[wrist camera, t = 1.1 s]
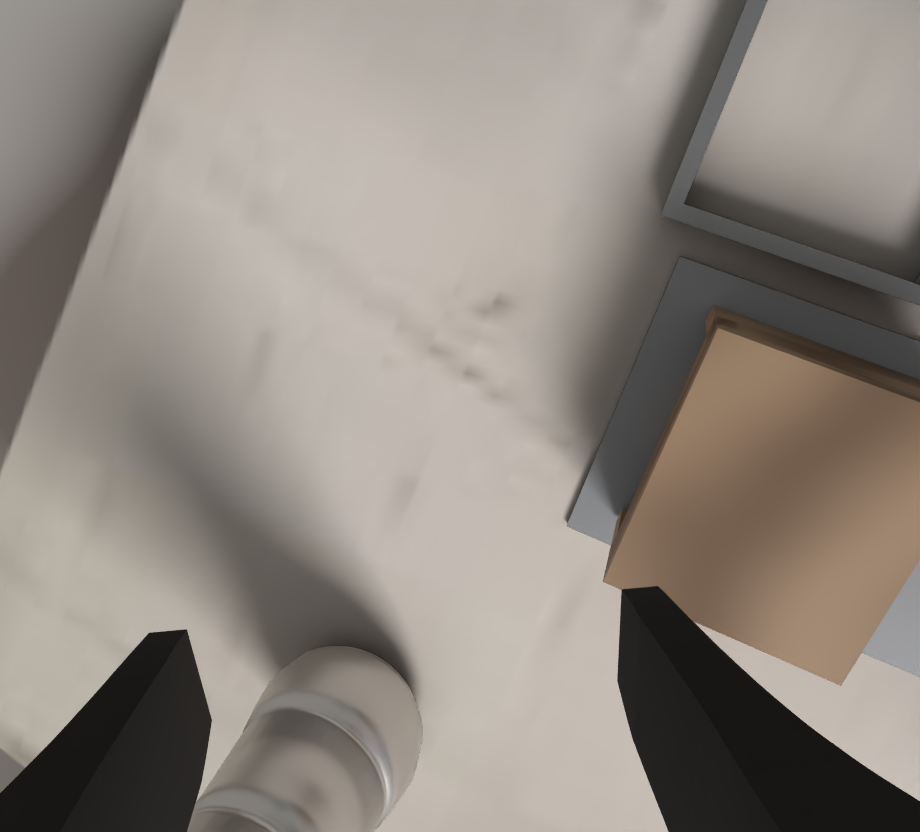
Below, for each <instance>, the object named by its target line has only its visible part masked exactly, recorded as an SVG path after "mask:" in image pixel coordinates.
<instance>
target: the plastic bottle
mask: <svg viewBox="0 0 920 832" xmlns="http://www.w3.org/2000/svg"><path fill="white" fill-rule="evenodd" d="M422 735H423V727H422V721H421V715H420V713H419V710H418V707H417V704H416V701H415V699H414V696H413V694H412V692H411V690H410V688H409V687H408V685H407V683H406V682H405V680H404V679H403V678H402V677H401V675H400V674H399V673H398V672H397V671H396V670H395V669H394V668H393V667H392V666H391V665H389V664H388V663H387V662H385V661H384V660H382V659H381V658H379V657H378V656H376V655H374V654H372V653H370V652H368V651H365V650H362V649H358V648H355V647H346V646H328V647H319V648H316V649H313V650H310V651H307V652H306V653H304V654H302V655H301V656H299V657H298V658H296V659H295V660H294V661H293V662H291V663H290V664H289V665H287V666H286V667H285V668H283V669H282V670H281V671H280V672H278V673H277V674H276V675H275V677H274V678H273V679H272V680H271V681H270V682H269V684H268V685H267V687H266V689H265V690H264V692H263V694H262V696H261V697H260V699H259V701H258V702H257V704H256V706H255V708H254V710H253V712H252V714H251V716H250V718H249V720H248V722H247V724H246V726H245V728H244V731H243V733H242V735H241V737H240V738H239V740H238V741H237V743H236V744H235V746H234V747H233V749H232V750H231V752H230V753H229V755H228V756H227V758H226V759H225V761H224V762H223V764H222V765H221V767H220V768H219V770H218V771H217V773H216V774H215V776H214V777H213V779H212V780H211V782H210V783H209V785H208V786H207V788H206V789H205V791H204V792H203V794H202V795H201V797H200V798H199V799H198V800H197V801H196V803H195V806H194V810H193V813H192V817H191V820H190V824H189V827H188V830H187V832H374V831H375V830H376V829H377V828H378V827H379V826H380V825H381V824H382V822H383V821H384V820H385V819H386V818H387V817H388V815H389V814H390V813H391V811H392V810H393V808H394V807H395V805H396V804H397V802H398V801H399V799H400V798H401V796H402V795H403V794H404V792H405V791H406V789H407V787H408V786H409V784H410V783H411V781H412V779H413V776H414V773H415V770H416V767H417V762H418V758H419V753H420V749H421V744H422Z"/></svg>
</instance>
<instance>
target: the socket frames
mask: <svg viewBox="0 0 920 832" xmlns="http://www.w3.org/2000/svg"><path fill="white" fill-rule="evenodd" d="M766 3H767V0H747V2H746V4H745V7H744V9H743V12H742V14H741V17H740V19H739V22H738V24H737V26H736V29H735V31H734V34H733V36H732V39H731V41H730V44H729V46H728V49H727V51H726V54H725V56H724V59H723V61H722V64H721V66H720V69H719V71H718V74H717V76H716V79H715V81H714V84H713V86H712V89H711V91H710V93H709V96H708V98H707V101H706V103H705V106H704V108H703V111H702V113H701V116H700V118H699V121H698V123H697V126H696V128H695V131H694V133H693V136H692V138H691V141H690V143H689V146H688V148H687V151H686V153H685V156H684V158H683V161H682V163H681V165H680V168H679V170H678V173H677V175H676V178H675V180H674V183H673V185H672V188H671V190H670V193H669V195H668V198H667V200H666V203H665V205H664V208H663V210H662V213H661V215H662V216H664V217H667V218H670V219H673V220H676V221H679V222H682V223H685V224H687V225H690V226H693V227H696V228H699V229H702V230H705V231H708V232H710V233H713V234H716V235H719V236H722V237H725V238H728V239H731V240H733V241H736V242H739V243H742V244H745V245H748V246H751V247H753V248H756V249H759V250H762V251H765V252H768V253H771V254H774V255H776V256H779V257H782V258H785V259H788V260H791V261H794V262H797V263H799V264H802V265H805V266H808V267H811V268H814V269H817V270H820V271H822V272H825V273H828V274H831V275H834V276H837V277H840V278H843V279H845V280H848V281H851V282H854V283H857V284H860V285H863V286H866V287H868V288H871V289H874V290H877V291H880V292H883V293H886V294H888V295H891V296H894V297H897V298H900V299H903V300H906V301H909V302H911V303H914V304H917V305H920V274H919V276H918V278H917V279H916V281H915V283H914V282H911V281H908V280H905V279H902V278H899V277H896V276H893V275H890V274H887V273H885V272H882V271H879V270H876V269H873V268H870V267H867V266H864V265H861V264H858V263H855V262H853V261H850V260H847V259H844V258H841V257H838V256H835V255H832V254H829V253H826V252H823V251H821V250H818V249H815V248H812V247H809V246H806V245H803V244H800V243H797V242H794V241H791V240H789V239H786V238H783V237H780V236H777V235H774V234H771V233H768V232H765V231H762V230H759V229H757V228H754V227H751V226H748V225H745V224H742V223H739V222H736V221H733V220H730V219H727V218H725V217H722V216H719V215H716V214H713V213H710V212H707V211H704V210H701V209H698V208H695V207H693V206H690V205H687V204H684V202H685V200H686V197H687V195H688V192H689V190H690V188H691V185H692V183H693V180H694V178H695V175H696V173H697V171H698V168H699V166H700V163H701V161H702V158H703V156H704V153H705V151H706V149H707V146H708V144H709V141H710V139H711V136H712V134H713V132H714V129H715V127H716V124H717V122H718V119H719V117H720V115H721V112H722V110H723V107H724V105H725V102H726V100H727V98H728V95H729V93H730V90H731V88H732V85H733V83H734V81H735V78H736V76H737V73H738V71H739V68H740V66H741V64H742V61H743V59H744V56H745V54H746V51H747V49H748V47H749V44H750V42H751V39H752V37H753V34H754V32H755V30H756V27H757V25H758V22H759V20H760V17H761V15H762V13H763V10H764V8H765V5H766Z"/></svg>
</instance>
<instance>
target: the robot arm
mask: <svg viewBox="0 0 920 832" xmlns="http://www.w3.org/2000/svg"><path fill="white" fill-rule="evenodd" d="M617 681H618V685H619V689H620V693H621V697H622V701H623V705H624V708H625V712H626V716H627V720H628V723H629V727H630V731H631V735H632V738H633V741H634V744H635V746H636V749H637V752H638V754H639V757H640V759H641V762H642V765H643V767H644V770H645V772H646V775H647V778H648V780H649V783H650V785H651V788H652V790H653V793H654V795H655V798H656V801H657V803H658V806H659V808H660V811H661V813H662V816H663V818H664V821H665V823H666V826H667V829H668V831H669V832H920V801H918V800H917V799H915V798H914V797H912V796H910V795H909V794H907V793H906V792H904V791H903V790H901V789H899V788H898V787H896V786H895V785H893V784H891V783H890V782H888V781H887V780H885V779H883V778H882V777H880V776H879V775H877V774H876V773H874V772H873V771H871V770H870V769H868V768H867V767H865V766H864V765H862V764H861V763H859V762H858V761H856V760H855V759H853V758H852V757H851V756H849V755H848V754H847V753H845V752H844V751H842V750H841V749H840V748H838V747H837V746H836V745H834V744H833V743H831V742H830V741H829V740H827V739H826V738H824V737H823V736H822V735H820V734H819V733H818V732H816V731H815V730H814V729H812V728H811V727H810V726H808V725H807V724H806V723H805V722H803V721H802V720H801V719H800V718H798V717H797V716H796V715H795V714H794V713H792V712H791V711H790V710H789V709H788V708H786V707H785V706H784V705H783V704H782V703H780V702H779V701H778V700H777V699H776V698H774V697H773V696H772V695H771V694H770V693H769V692H767V691H766V690H765V689H764V688H763V687H762V686H761V685H759V684H758V683H757V682H756V681H755V680H754V679H753V678H752V677H751V676H749V675H748V674H747V673H746V672H745V671H744V670H743V669H742V668H741V667H740V666H739V665H738V664H736V663H735V662H734V661H733V660H732V659H731V658H730V657H729V656H728V655H727V654H726V653H725V652H724V651H723V650H722V649H720V648H719V647H718V646H717V645H716V644H715V643H714V642H713V641H712V640H711V639H710V638H709V637H708V636H707V635H706V634H705V633H704V632H703V631H702V630H701V629H700V628H699V627H698V626H697V625H696V624H695V623H694V622H693V621H692V620H691V619H690V618H689V617H688V616H687V615H686V614H685V613H684V612H683V611H682V609H681V608H680V607H679V606H678V605H677V604H676V603H675V602H674V601H673V600H672V599H671V598H670V597H669V596H668V595H667V594H666V593H665V592H664V591H663V590H662V589H661V588H660V587H658V586H652V587H641V588H630V589H622V595H621V616H620V637H619V659H618V680H617ZM211 722H212V719H211V715H210V712H209V708H208V705H207V701H206V697H205V694H204V690H203V687H202V683H201V679H200V676H199V672H198V669H197V665H196V661H195V658H194V654H193V650H192V647H191V643H190V640H189V636H188V632H187V630H176V631H165V632H154V633H149V634H148V635H147V636H146V637H145V638H144V639H143V640H142V641H141V643H140V644H139V645H138V646H137V647H136V648H135V649H134V650H133V651H132V652H131V654H130V655H129V656H128V657H127V658H126V659H125V660H124V662H123V663H122V664H121V665H120V666H119V667H118V668H117V669H116V671H115V672H114V673H113V674H112V675H111V676H110V677H109V679H108V680H107V681H106V682H105V683H104V684H103V685H102V687H101V688H100V689H99V690H98V691H97V692H96V693H95V694H94V696H93V697H92V698H91V699H90V700H89V701H88V702H87V703H86V704H85V706H84V707H83V708H82V709H81V710H80V711H79V712H78V713H77V714H76V715H75V717H74V718H73V719H72V720H71V721H70V722H69V723H68V724H67V725H66V726H65V727H64V729H63V730H62V731H61V732H60V733H59V734H58V735H57V736H56V737H55V738H54V739H53V740H52V742H51V743H50V744H49V745H48V746H47V747H46V748H45V749H44V750H43V751H42V752H41V753H40V754H39V755H38V756H37V757H36V758H35V759H34V760H33V761H32V762H31V763H30V764H29V765H28V766H27V767H26V768H25V769H24V770H23V771H22V772H21V773H20V774H19V775H18V776H17V777H16V778H15V779H14V780H13V781H12V782H11V783H10V784H9V785H8V786H7V787H6V788H5V789H4V790H3V791H2V792H1V793H0V832H187V830H188V827H189V824H190V820H191V817H192V813H193V810H194V806H195V803H196V800H197V796H198V793H199V789H200V785H201V782H202V776H203V771H204V765H205V760H206V754H207V748H208V741H209V735H210V729H211Z"/></svg>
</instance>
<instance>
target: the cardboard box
mask: <svg viewBox="0 0 920 832" xmlns="http://www.w3.org/2000/svg"><path fill="white" fill-rule="evenodd" d="M705 326H706V334H707V335H706V337H705V340H704V342H703V344H702V346H701V348H700V351H699V353H698V355H697V357H696V360H695V362H694V364H693V366H692V368H691V371H690V373H689V375H688V377H687V380H686V382H685V384H684V386H683V388H682V391H681V393H680V395H679V397H678V400H677V402H676V404H675V406H674V408H673V411H672V413H671V415H670V417H669V420H668V422H667V424H666V426H665V428H664V431H663V433H662V435H661V437H660V440H659V442H658V444H657V446H656V448H655V451H654V453H653V455H652V457H651V460H650V462H649V464H648V466H647V468H646V471H645V473H644V475H643V477H642V480H641V482H640V484H639V486H638V488H637V491H636V493H635V495H634V497H633V500H632V502H631V504H630V506H629V508H628V509H626V508H624V507H623V508H622V510H621V512H620V515H619V517H618V519H617V521H616V525H615V530H614V534H613V539H612V543H611V548H610V552H609V557H608V561H607V566H606V570H605V575H604V579H603V582H605V583H607V584H609V585H612V586H614V587H616V588H618V589H621V590H622V589H630V588H641V587H652V586H658V587H660V588H661V589H662V590H663V591H664V592H665V593H666V594H667V595H668V596H669V597H670V598H671V599H672V600H673V601H674V602H675V603H676V604H677V605H678V606H679V607H680V608H681V609H682V611H683V612H684V613H685V614H686V615H687V616H688V617H689V618H690V619H691V620H692V621H694V622H696V623H699V624H701V625H703V626H705V627H708V628H710V629H712V630H715V631H717V632H719V633H721V634H724V635H726V636H728V637H731V638H733V639H735V640H737V641H740V642H742V643H744V644H747V645H749V646H751V647H754V648H756V649H758V650H760V651H763V652H765V653H767V654H770V655H772V656H774V657H776V658H779V659H781V660H783V661H786V662H788V663H790V664H792V665H795V666H797V667H799V668H802V669H804V670H806V671H808V672H811V673H813V674H815V675H818V676H820V677H822V678H824V679H827V680H829V681H831V682H834V683H836V684H838V685H840V686H841V685H842V683H843V682H844V680H845V679H846V677H847V675H848V674H849V672H850V671H851V669H852V667H853V666H854V664H855V663H856V661H857V659H858V658H859V656H860V655H861V653H862V651H863V650H864V648H865V647H866V645H867V643H868V642H869V640H870V639H871V637H872V635H873V634H874V632H875V631H876V629H877V627H878V626H879V624H880V623H881V621H882V619H883V618H884V616H885V615H886V613H887V611H888V610H889V608H890V607H891V605H892V603H893V602H894V600H895V599H896V597H897V595H898V594H899V592H900V591H901V589H902V587H903V586H904V584H905V583H906V581H907V579H908V578H909V576H910V575H911V573H912V572H913V570H914V568H915V567H916V565H917V564H918V562H919V560H920V380H918V379H916V378H913V377H910V376H907V375H905V374H902V373H899V372H897V371H894V370H891V369H888V368H886V367H883V366H880V365H877V364H875V363H872V362H869V361H866V360H864V359H861V358H858V357H855V356H853V355H850V354H847V353H844V352H842V351H839V350H836V349H833V348H831V347H828V346H825V345H822V344H820V343H817V342H814V341H811V340H809V339H806V338H803V337H800V336H798V335H795V334H792V333H789V332H787V331H784V330H781V329H778V328H776V327H773V326H770V325H767V324H765V323H762V322H759V321H756V320H754V319H751V318H748V317H745V316H743V315H740V314H737V313H734V312H732V311H729V310H726V309H723V308H721V307H718V306H715V305H713V306H712V309H711V311H710V313H709V315H708V318H707V320H706V322H705Z"/></svg>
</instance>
